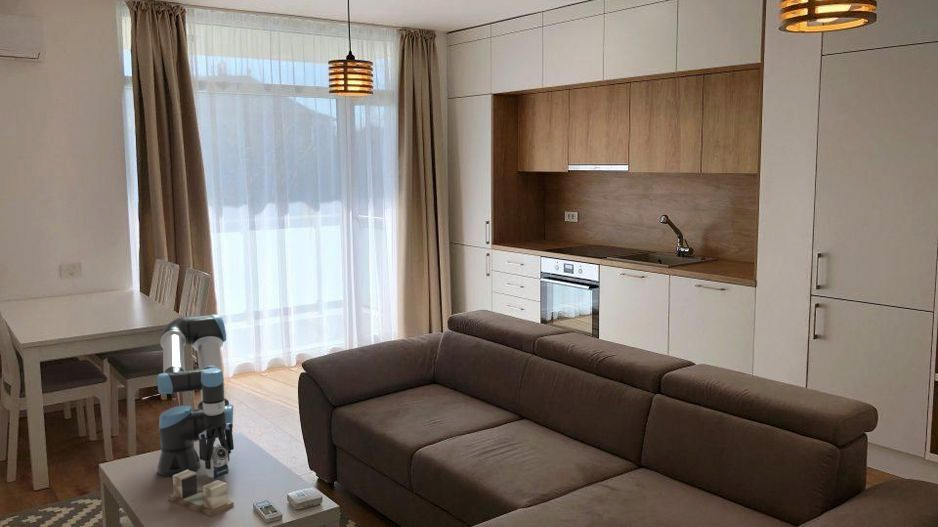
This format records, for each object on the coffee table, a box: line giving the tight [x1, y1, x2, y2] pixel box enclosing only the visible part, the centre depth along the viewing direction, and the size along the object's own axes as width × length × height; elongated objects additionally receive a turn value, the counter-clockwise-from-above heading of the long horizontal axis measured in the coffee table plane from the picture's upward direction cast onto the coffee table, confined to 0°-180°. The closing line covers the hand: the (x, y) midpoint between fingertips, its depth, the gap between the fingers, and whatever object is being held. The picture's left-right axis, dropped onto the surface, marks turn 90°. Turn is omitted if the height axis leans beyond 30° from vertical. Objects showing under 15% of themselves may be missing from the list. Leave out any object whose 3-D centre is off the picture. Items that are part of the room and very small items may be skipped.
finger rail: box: [168, 470, 235, 517], centre depth 264 cm, size 23×9×8 cm, turn 55°
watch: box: [211, 443, 229, 479], centre depth 282 cm, size 6×8×11 cm
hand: (218, 473), depth 282 cm, fingers closed on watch, 6 cm apart
